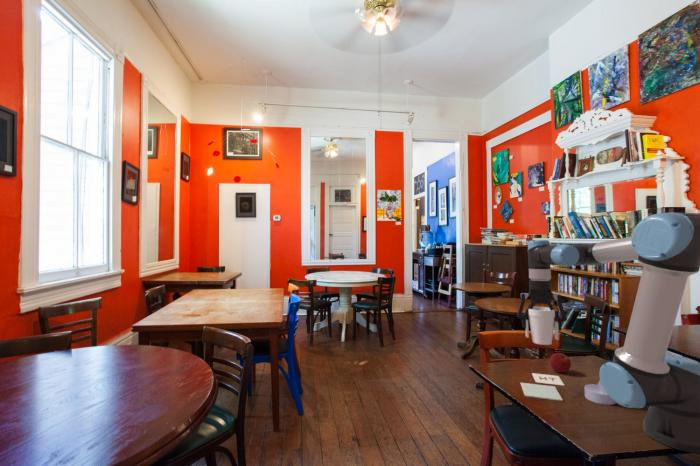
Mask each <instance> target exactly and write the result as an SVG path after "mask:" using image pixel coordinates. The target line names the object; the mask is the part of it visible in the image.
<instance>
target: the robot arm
mask: <svg viewBox="0 0 700 466" xmlns="http://www.w3.org/2000/svg"><path fill="white" fill-rule="evenodd" d="M527 258H528V279H529V281H528V286H529V287H528V288H529V289H528V290H529V291H528V292H527V293H526V292H521V293H520V302H519V306H518V310H517V314H516V317H517V319H520V320H521V324H522V328H523V329H525V337H526V338H528V339H529V338H530V336H529V334H530V333H529V319H528V318H529V317H528V315H529V313H528V309H532V308H533V307H535V305H540V304H542V305H546V306H547V308H550V310H555V318H554V319H555V320H554V338H555V340H556V341H559V340H560V338H559V337H560V336H559V335H560V334H559V332H561V331H562V329H563V328H562V323H563V322H567V321H568V319H567V315H566V311H565V309H564V306H563V302H562V295H561V294H559V293H556V294H553V292H552V281H551V279H552V274H551V273H552V271H551V270H552V269H551V266H558V267H572V266H601V265H605V264H612V263H620V262H627V261H628V262H629V261H637V262H638V263H639V264H640V265H641V266H642V271H641V275H640V279H639V283H638V288H637V291H636V292H637V293H636V295H635V301H634V304H633V309H632V312H631V315H630V319H629V324H628V328H627V331H626V334H625V335H626V336H625V338H624V339H625V340H624V343H623V346H621V347H618V348H616V349H615V351H614V355H613V358H612V361H608V362H605V363H603V364H602V365H600V369H599V374H598V375H599V376H598V377H599V380H600V381H601V384H602V386H603V387H604V389H605V391H606V393H607V394H608V395H609V396H610V397H611V398H612V399H613V400H614V401H615V402H616V404H618V405H620V406H622V407H625V408H629V409H632V408H633V409H643V408H648V409H647V411H646V413H645V416H644V419H643V422H642V426H643V427H642V428H643V429H642V430H643V432H644V433H645V434H646V435H647V436H648V437H650V438H651V439H653V440H654V441H656V442H658V443H660V444H663V445H665V446H667V447H670V448H672V449H676V450H679V451H682V452H685V453H686V452H687V453H689V454H690V453H692V454H697V455H700V362H699V361H697V360H695V359H693V358H688V357H685V356H680V355H677V354H670V353H667V352H668V348H669V345H670V341H671V338H672V334H673V330H674V326H675V323H676V320H677V317H678V312H679V309H680V306H681V302H682V299H683V295H684V292H685V289H686V285H687V282H688V278H689V277H690V276H693V275H694V274H698V273H699V271H700V212H697V213H696V212H695V213H694V212H693V213H692V212H671V211H670V212H661V213H655V214H651V215H649V216H645V218H643V219H641V220H640V221H639V222H638V223H637V224H636V225H635V227H634V229H633V231H632V233H631V236H627V237H621V238H617V239H613V240H612V239H611V240H607V241H606V240H605V241H600V242H594V243H589V244H551V243H550V240H549V239H538V240H529V241H528V243H527ZM528 297H529V298H530V301H529V304H528V306H527V308H528V309H527V308H526V310H524V307H525V303H526V299H527V298H528ZM552 298H553V299H554V300H555V301H556V305H557V307H558V308H557V309H558V310H559V314H560V316H559V314H558V313H557V311H556V309H555V308H554V306H553V304H552V303H551V300H552ZM523 311H524V312H523ZM694 452H695V453H694Z"/></svg>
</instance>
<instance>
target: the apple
mask: <svg viewBox="0 0 700 466" xmlns="http://www.w3.org/2000/svg"><path fill="white" fill-rule="evenodd" d="M549 365H550V367H551V368H552V369H553V370H554V371H555V372H557V373H562V374H563V373H566V372H568V371H569V370H570V369H571V367H572V362H571V359H570V358H569V357H568V356H567V355H565V354H564V353H561V352H556V353H554V354H552V355H551V356H550V358H549Z"/></svg>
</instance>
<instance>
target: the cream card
mask: <svg viewBox="0 0 700 466" xmlns="http://www.w3.org/2000/svg"><path fill="white" fill-rule="evenodd" d="M531 375H532V377H533V379H534V382H535V384H537V383H538V384H547V385H552V386H554V385H555V386H562V387H565V384H564V382H563V381H562V379H561V378H560V376H559V375H553V374H552V375H551V374H545V373H544V374H543V373H534V372H532V373H531Z"/></svg>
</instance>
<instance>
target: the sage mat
mask: <svg viewBox="0 0 700 466" xmlns="http://www.w3.org/2000/svg"><path fill="white" fill-rule="evenodd" d="M520 386H521V389H522V392H523V395H524V397H527V398H535V399H542V400H543V399H544V400H551V401H560V402H563V401H564V400H563V398H562V396H561V394H560V393H559V392H558V390H557V387H556V385H555V386H554V385H543V384H537V383H527V382H520Z"/></svg>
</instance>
